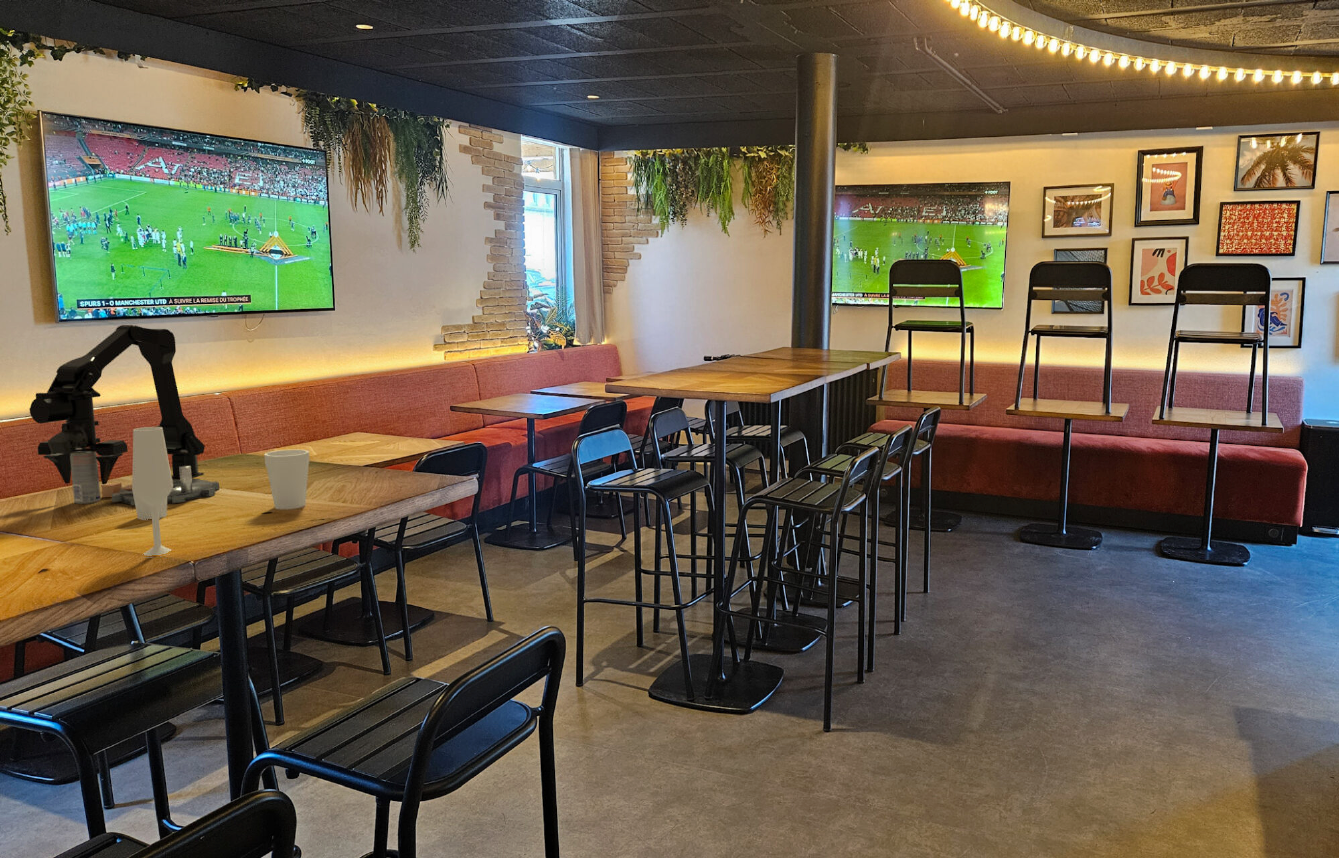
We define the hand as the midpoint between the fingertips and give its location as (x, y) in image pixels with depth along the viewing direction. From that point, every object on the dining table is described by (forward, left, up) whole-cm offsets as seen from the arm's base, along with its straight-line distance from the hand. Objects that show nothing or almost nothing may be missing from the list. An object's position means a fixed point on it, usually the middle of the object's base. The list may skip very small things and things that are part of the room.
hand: (85, 483), depth 228 cm
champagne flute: (+44, +46, -5) cm, 64 cm away
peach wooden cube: (-6, +2, -4) cm, 8 cm away
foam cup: (+5, +52, -5) cm, 53 cm away
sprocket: (-6, +16, -4) cm, 18 cm away
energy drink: (0, 0, -5) cm, 4 cm away
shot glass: (+15, +26, -5) cm, 30 cm away
